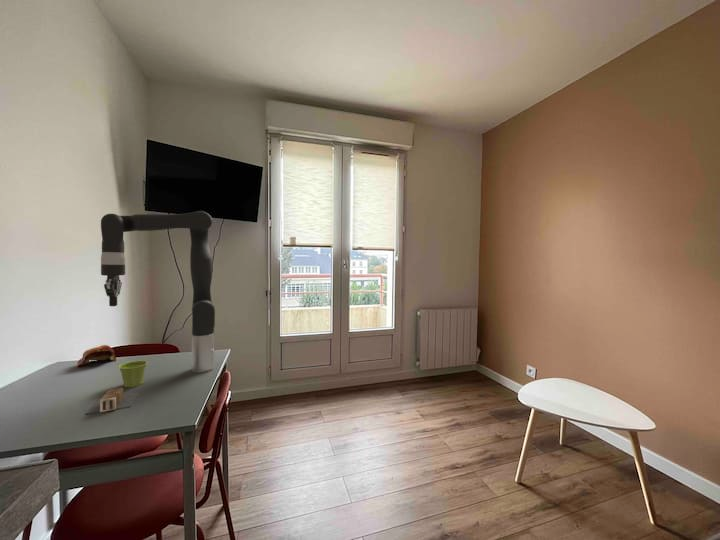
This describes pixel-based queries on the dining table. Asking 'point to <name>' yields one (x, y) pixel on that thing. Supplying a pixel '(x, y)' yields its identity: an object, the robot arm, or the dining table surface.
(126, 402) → the mat
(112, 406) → the tan wooden block
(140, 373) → the plant pot
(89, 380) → the dining table surface
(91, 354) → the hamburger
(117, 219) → the robot arm
